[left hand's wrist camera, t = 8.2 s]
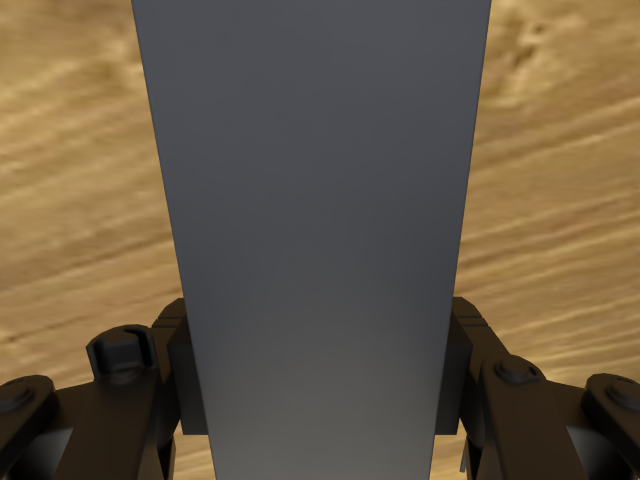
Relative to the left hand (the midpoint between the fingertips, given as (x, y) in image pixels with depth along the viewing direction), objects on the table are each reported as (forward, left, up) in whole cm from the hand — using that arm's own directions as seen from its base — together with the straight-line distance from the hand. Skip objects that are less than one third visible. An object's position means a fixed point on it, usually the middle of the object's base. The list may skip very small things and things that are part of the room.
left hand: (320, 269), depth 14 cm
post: (+19, -14, -1) cm, 23 cm away
